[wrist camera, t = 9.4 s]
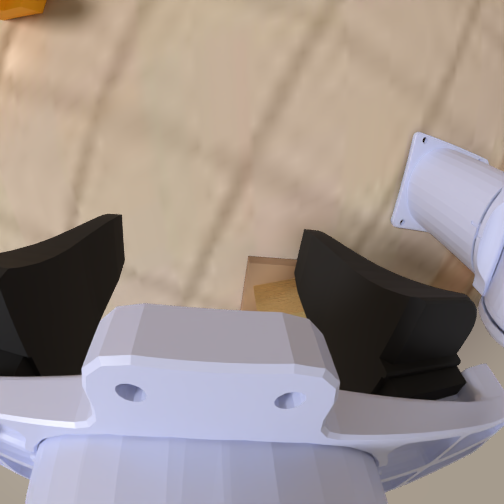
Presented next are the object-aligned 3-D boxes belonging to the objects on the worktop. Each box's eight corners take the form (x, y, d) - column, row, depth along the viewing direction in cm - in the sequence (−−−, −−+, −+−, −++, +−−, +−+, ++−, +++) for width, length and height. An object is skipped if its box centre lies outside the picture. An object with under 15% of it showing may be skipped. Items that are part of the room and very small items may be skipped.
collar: (322, 272, 24) (338, 304, 20) (324, 323, 27) (336, 355, 23) (253, 285, 24) (258, 320, 20) (262, 335, 27) (268, 369, 23)
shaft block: (343, 263, 25) (363, 295, 21) (319, 333, 29) (331, 368, 25) (248, 256, 24) (253, 291, 20) (237, 331, 27) (240, 369, 24)
